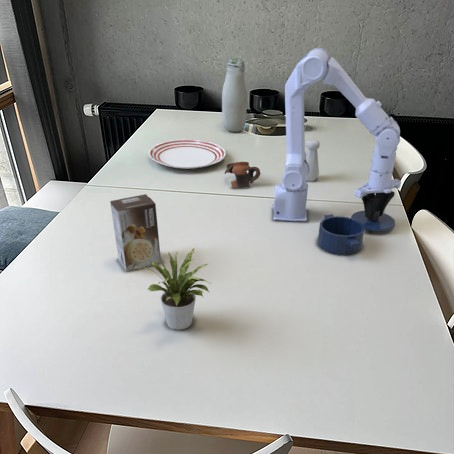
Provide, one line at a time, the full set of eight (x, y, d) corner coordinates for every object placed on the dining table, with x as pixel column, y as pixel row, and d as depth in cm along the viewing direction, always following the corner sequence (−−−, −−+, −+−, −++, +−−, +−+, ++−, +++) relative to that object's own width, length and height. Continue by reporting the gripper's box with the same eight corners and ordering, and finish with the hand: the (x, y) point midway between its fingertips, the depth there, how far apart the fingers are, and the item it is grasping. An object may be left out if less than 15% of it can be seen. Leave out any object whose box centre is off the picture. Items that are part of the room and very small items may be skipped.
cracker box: (152, 251, 132) (147, 192, 123) (161, 263, 127) (157, 203, 118) (117, 260, 128) (109, 200, 119) (125, 272, 124) (118, 211, 115)
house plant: (150, 354, 99) (144, 283, 90) (132, 314, 110) (124, 247, 101) (219, 336, 104) (219, 266, 95) (195, 299, 115) (193, 233, 105)
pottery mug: (222, 189, 166) (219, 163, 165) (232, 192, 175) (229, 167, 174) (258, 184, 162) (255, 157, 161) (266, 187, 171) (264, 161, 170)
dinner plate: (239, 156, 190) (240, 147, 188) (196, 180, 171) (196, 171, 169) (179, 142, 202) (179, 134, 200) (133, 164, 183) (132, 154, 181)
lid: (362, 235, 139) (365, 221, 136) (343, 216, 148) (345, 202, 146) (402, 230, 141) (405, 216, 139) (380, 211, 151) (383, 198, 148)
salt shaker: (317, 183, 170) (321, 144, 162) (300, 181, 171) (303, 142, 163) (318, 176, 174) (322, 138, 167) (301, 175, 175) (305, 137, 168)
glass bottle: (220, 134, 212) (220, 60, 196) (224, 126, 220) (225, 55, 204) (244, 135, 210) (246, 61, 195) (247, 128, 219) (249, 56, 203)
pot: (332, 263, 128) (335, 243, 125) (307, 232, 141) (309, 214, 138) (373, 257, 130) (377, 238, 127) (345, 227, 144) (347, 210, 141)
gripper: (371, 179, 130) (363, 228, 138) (413, 169, 136) (402, 216, 144) (352, 170, 135) (345, 217, 143) (393, 161, 141) (384, 206, 149)
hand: (373, 216), depth 143 cm, fingers closed on lid, 3 cm apart
